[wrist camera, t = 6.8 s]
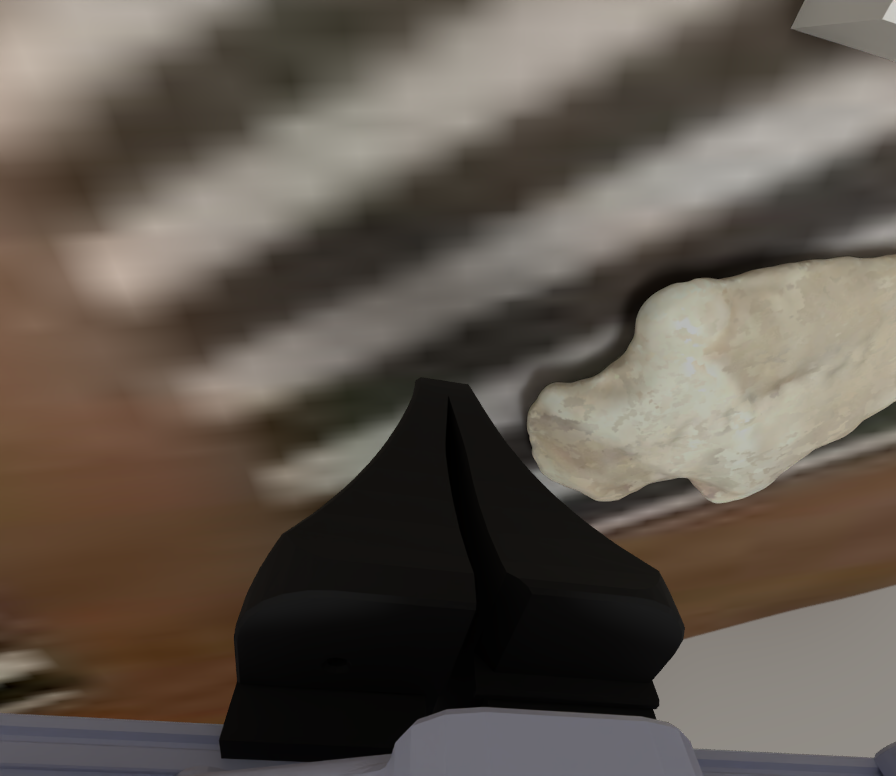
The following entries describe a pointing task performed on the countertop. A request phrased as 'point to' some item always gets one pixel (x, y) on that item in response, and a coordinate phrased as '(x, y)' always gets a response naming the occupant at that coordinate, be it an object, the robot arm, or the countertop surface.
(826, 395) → the rock
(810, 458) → the countertop surface
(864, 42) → the digit one block
